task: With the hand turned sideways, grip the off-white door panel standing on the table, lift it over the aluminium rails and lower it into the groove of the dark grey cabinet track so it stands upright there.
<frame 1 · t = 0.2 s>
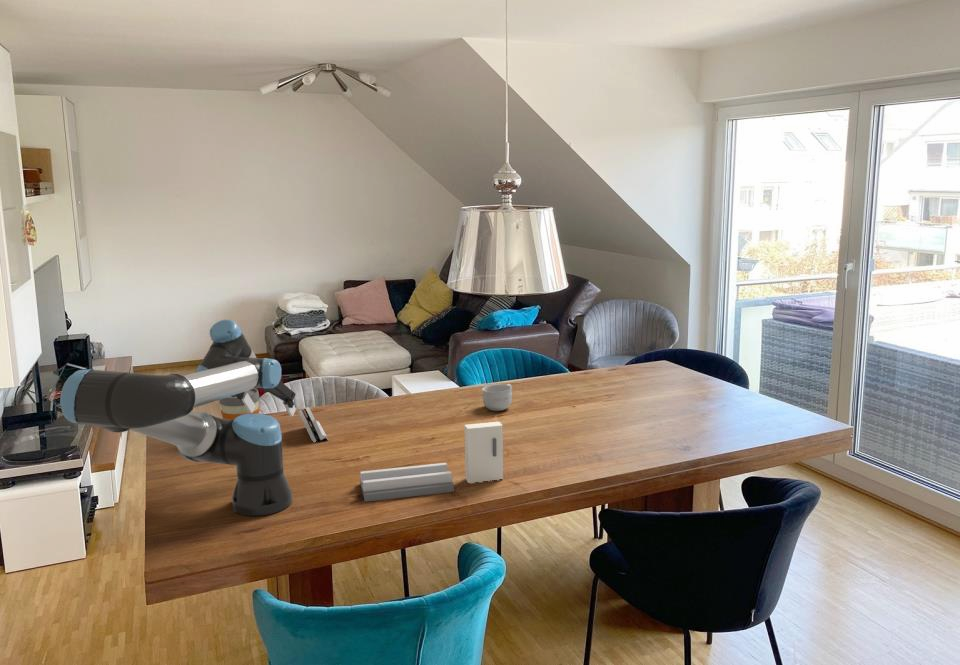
hand: (272, 411, 229), 15 cm above the table, tool tilted 35°, fingers open, 13 cm apart
track: (406, 487, 210), on the table
door panel: (484, 479, 215), on the table
reusable coffee cup: (242, 436, 253), on the table
white and black console: (313, 435, 254), on the table
teacup: (500, 408, 280), on the table
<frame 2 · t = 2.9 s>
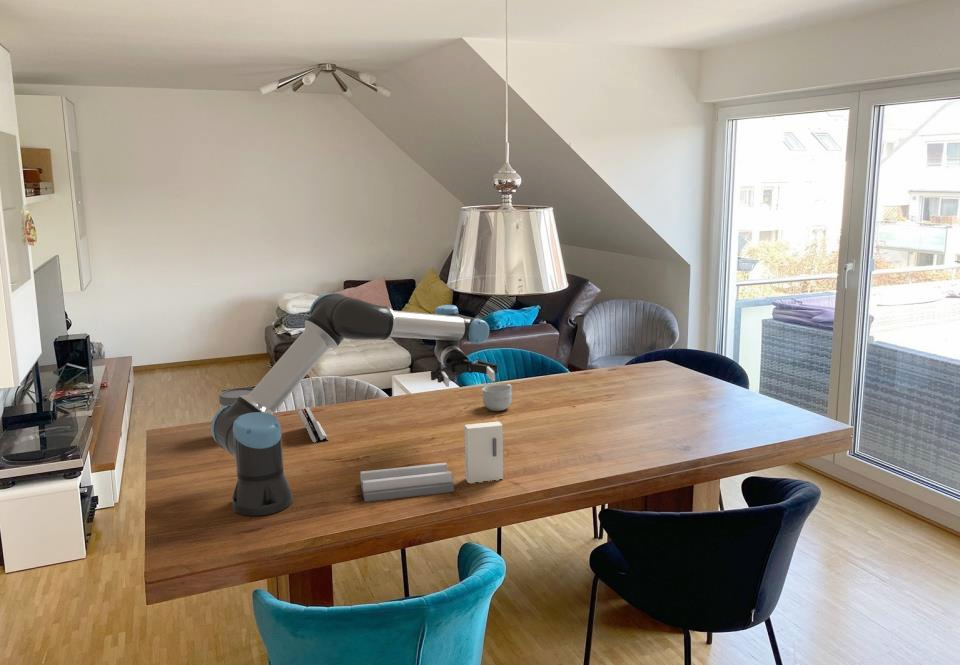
hand: (470, 379, 219), 26 cm above the table, tool horizontal, fingers open, 13 cm apart
nothing on the table moved.
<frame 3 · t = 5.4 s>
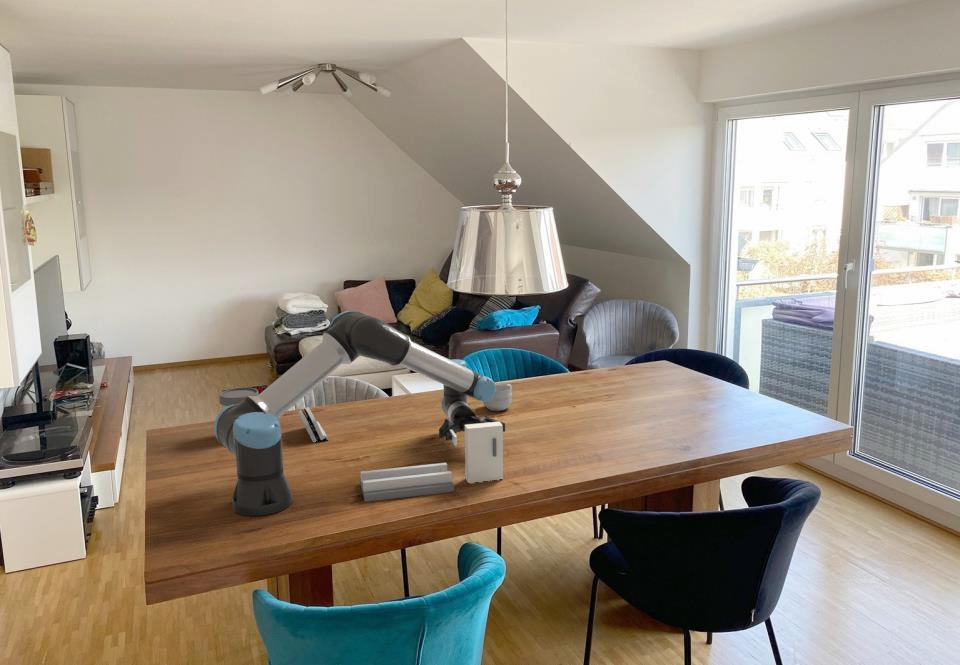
hand: (478, 439, 220), 9 cm above the table, tool horizontal, fingers open, 13 cm apart
nothing on the table moved.
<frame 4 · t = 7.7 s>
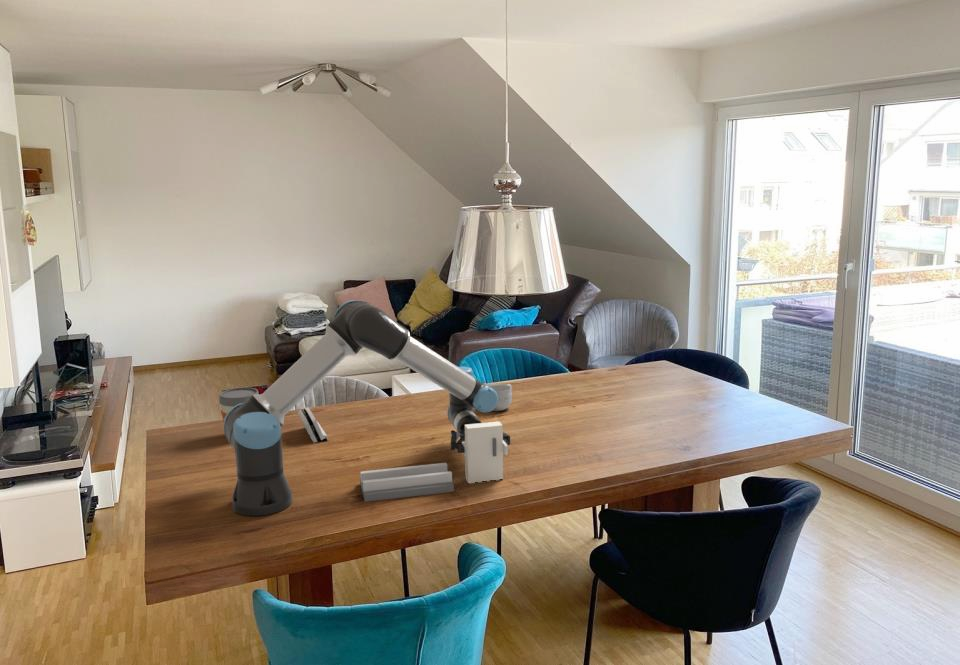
hand: (487, 452, 209), 10 cm above the table, tool horizontal, fingers closed on door panel, 10 cm apart
door panel: (484, 479, 215), on the table, touching gripper
everything else where it was.
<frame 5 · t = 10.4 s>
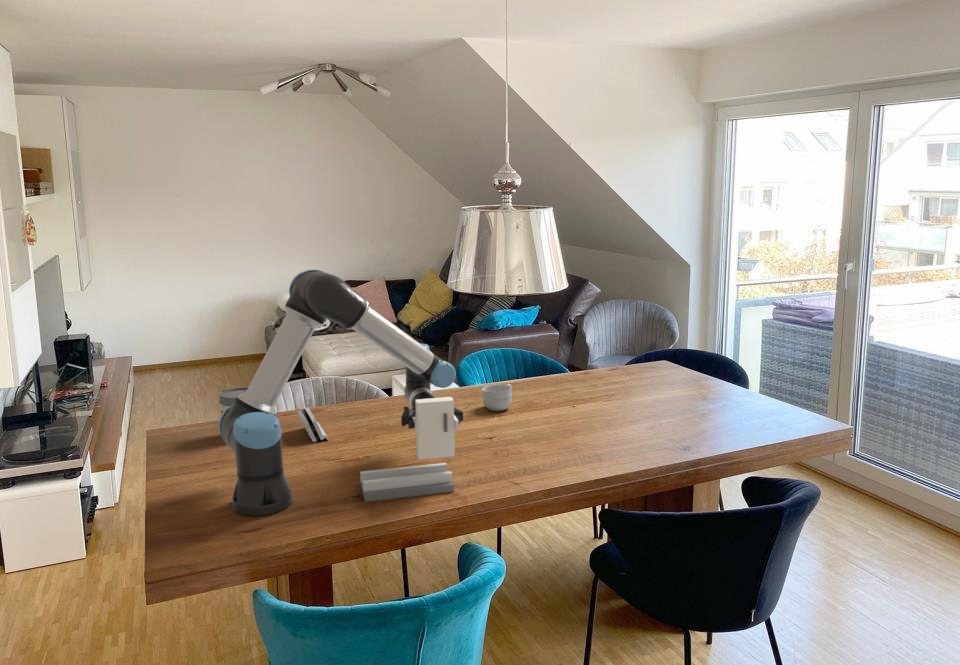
hand: (437, 427, 205), 18 cm above the table, tool horizontal, fingers closed on door panel, 10 cm apart
door panel: (435, 455, 211), point 8 cm above the table, touching gripper
everything else where it was.
when the fingers open (12 cm above the table, at t = 12.9 s): door panel stays where it is, resting on track.
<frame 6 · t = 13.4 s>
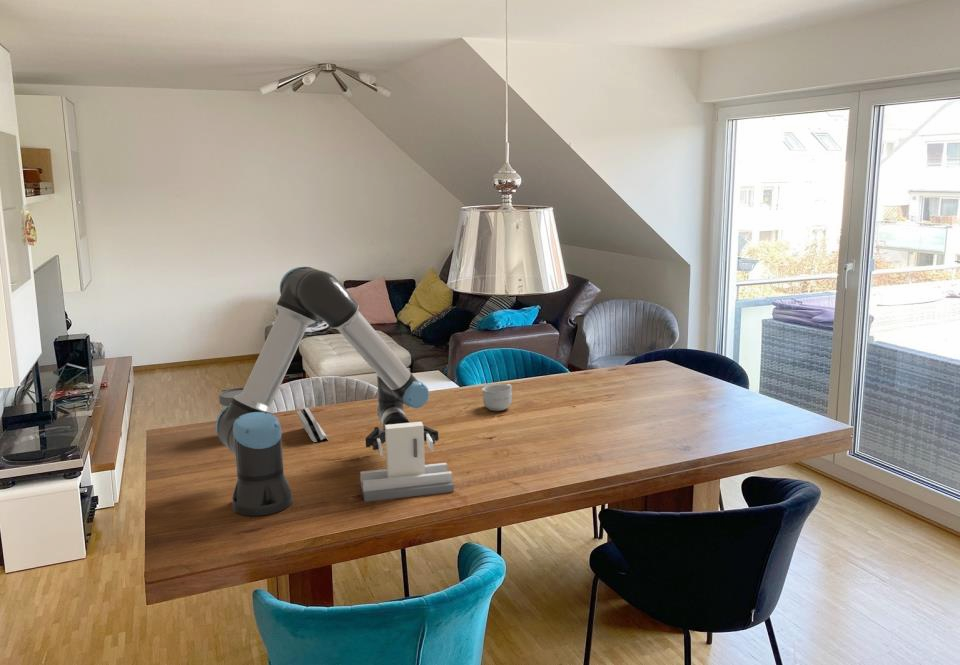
hand: (406, 448, 204), 12 cm above the table, tool horizontal, fingers open, 13 cm apart
door panel: (406, 480, 210), point 2 cm above the table, touching track
everything else where it was.
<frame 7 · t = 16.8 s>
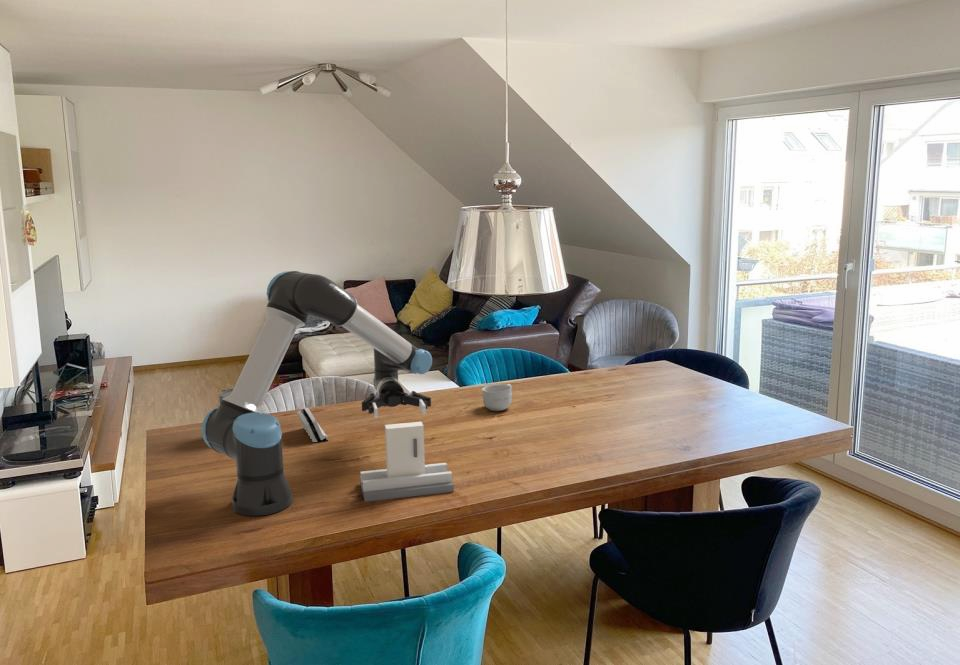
hand: (400, 411, 216), 19 cm above the table, tool horizontal, fingers open, 13 cm apart
nothing on the table moved.
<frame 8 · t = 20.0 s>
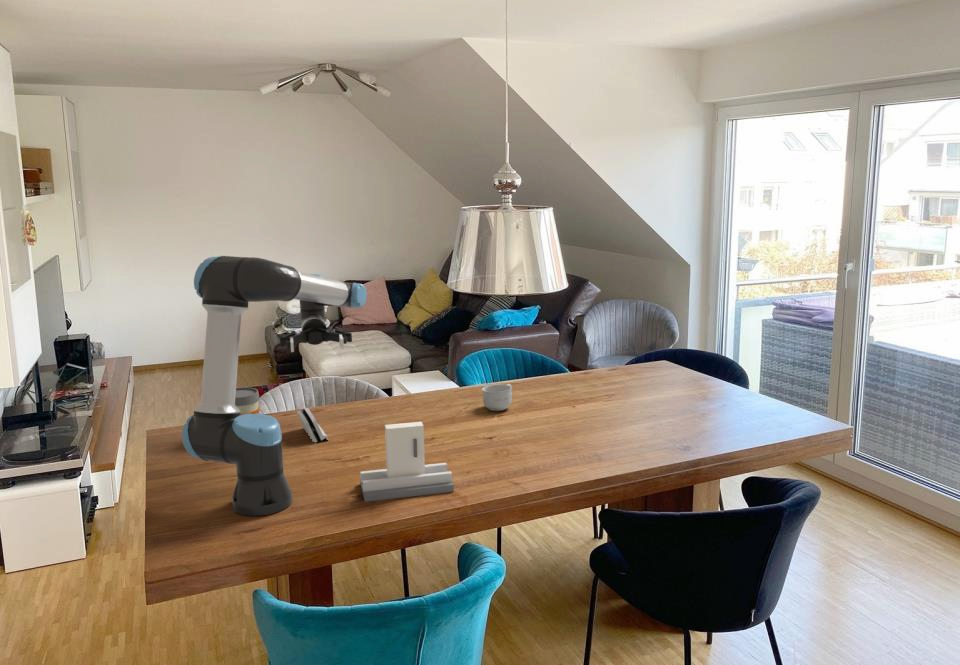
hand: (317, 345, 212), 38 cm above the table, tool horizontal, fingers open, 13 cm apart
nothing on the table moved.
at the end: door panel inside the target area on the track (0.1 cm from its centre), point 2.0 cm above the track's base; door panel tilted 0°; the gripper is holding nothing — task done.
